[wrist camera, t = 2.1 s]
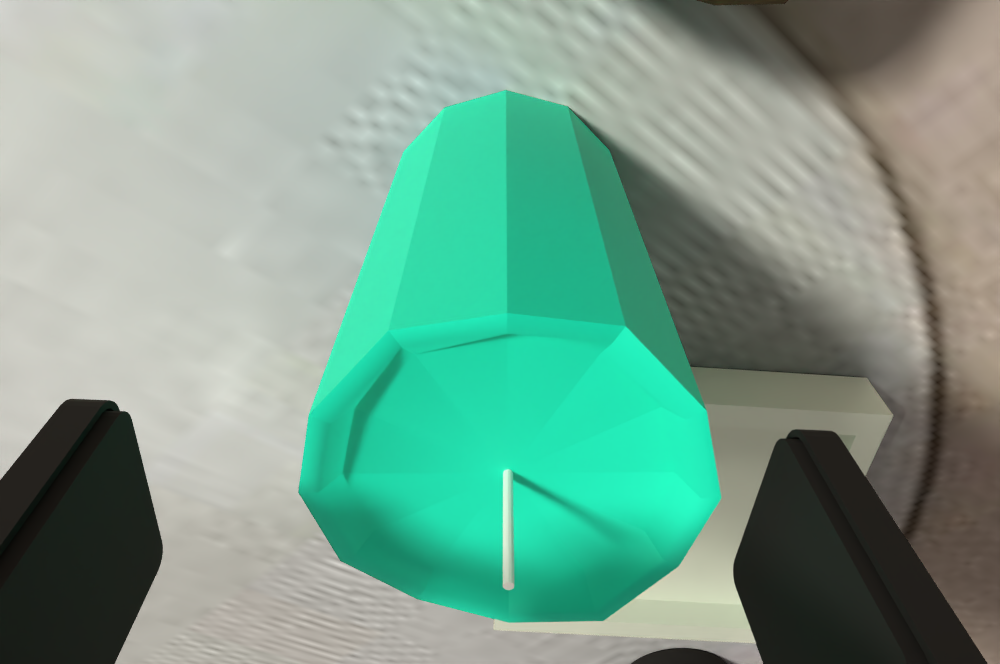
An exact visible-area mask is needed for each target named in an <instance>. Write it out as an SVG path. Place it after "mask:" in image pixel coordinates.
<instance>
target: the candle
mask: <svg viewBox="0 0 1000 664" xmlns="http://www.w3.org/2000/svg"><path fill="white" fill-rule="evenodd" d="M298 493H299V494H300V496H301V497H302V499H303V501H304V502H305V504H306V506H307V507H308V509H309V510H310V512H311V514H312V515H313V517H314V519H315V520H316V522H317V523H318V525H319V527H320V528H321V530H322V532H323V533H324V535H325V536H326V538H327V540H328V541H329V543H330V545H331V546H332V548H333V549H334V551H335V553H336V554H337V556H338V558H339V559H340V561H342V562H344V563H346V564H348V565H350V566H352V567H354V568H356V569H358V570H360V571H362V572H364V573H366V574H368V575H370V576H372V577H374V578H376V579H378V580H380V581H382V582H384V583H386V584H388V585H390V586H392V587H394V588H396V589H398V590H400V591H402V592H404V593H406V594H408V595H410V596H412V597H414V598H416V599H419V600H423V601H427V602H431V603H434V604H438V605H442V606H446V607H450V608H454V609H458V610H461V611H465V612H469V613H473V614H477V615H481V616H485V617H489V618H492V619H496V620H500V621H504V622H508V623H523V622H582V621H604V620H605V619H607V618H608V617H610V616H611V615H612V614H614V613H615V612H617V611H618V610H619V609H621V608H622V607H623V606H625V605H626V604H628V603H629V602H630V601H632V600H633V599H634V598H636V597H637V596H639V595H640V594H641V593H643V592H644V591H646V590H647V589H648V588H650V587H651V586H652V585H654V584H655V583H657V582H658V581H659V580H661V579H662V578H663V577H665V576H666V575H668V574H669V573H670V572H672V571H673V570H675V569H676V568H677V567H679V565H680V564H681V562H682V561H683V559H684V557H685V556H686V554H687V553H688V551H689V549H690V548H691V546H692V545H693V543H694V541H695V540H696V538H697V537H698V535H699V533H700V532H701V530H702V529H703V527H704V525H705V524H706V522H707V521H708V519H709V517H710V516H711V514H712V513H713V511H714V509H715V508H716V506H717V505H718V503H719V501H720V500H721V492H720V486H719V480H718V475H717V469H716V463H715V457H714V451H713V445H712V439H711V433H710V427H709V421H708V415H707V410H706V408H705V405H704V402H703V400H702V397H701V394H700V392H699V389H698V386H697V384H696V381H695V378H694V375H693V373H692V370H691V367H690V365H689V362H688V359H687V357H686V354H685V351H684V349H683V346H682V343H681V341H680V338H679V335H678V333H677V330H676V327H675V325H674V322H673V319H672V317H671V314H670V311H669V308H668V306H667V303H666V300H665V298H664V295H663V292H662V290H661V287H660V284H659V282H658V279H657V276H656V274H655V271H654V268H653V266H652V263H651V260H650V258H649V255H648V252H647V250H646V247H645V244H644V241H643V239H642V236H641V233H640V231H639V228H638V225H637V223H636V220H635V217H634V215H633V212H632V209H631V207H630V204H629V201H628V199H627V196H626V193H625V191H624V188H623V185H622V183H621V180H620V177H619V174H618V172H617V169H616V166H615V164H614V161H613V158H612V156H611V153H610V150H609V149H608V148H607V147H606V146H605V145H604V144H603V143H602V142H601V141H600V140H599V139H598V138H597V137H596V136H595V135H594V134H593V133H592V131H591V130H590V129H589V128H588V127H587V126H586V125H585V124H584V123H583V122H582V121H581V120H580V119H579V118H578V117H577V116H576V115H575V114H574V113H573V112H572V111H571V110H570V109H569V107H568V106H564V105H560V104H556V103H552V102H549V101H545V100H541V99H537V98H534V97H530V96H526V95H522V94H518V93H515V92H511V91H507V90H505V91H501V92H498V93H494V94H491V95H487V96H484V97H480V98H477V99H473V100H470V101H466V102H463V103H459V104H455V105H452V106H448V107H445V108H444V109H443V110H442V111H441V112H440V113H439V114H438V115H437V116H436V117H435V118H434V120H433V121H432V122H431V123H430V124H429V125H428V126H427V127H426V128H425V129H424V130H423V131H422V132H421V134H420V135H419V136H418V137H417V138H416V139H415V140H414V141H413V142H412V143H411V144H410V145H409V146H408V147H407V149H406V150H405V151H404V152H403V155H402V157H401V160H400V163H399V166H398V168H397V171H396V174H395V177H394V180H393V182H392V185H391V188H390V191H389V193H388V196H387V199H386V202H385V205H384V207H383V210H382V213H381V216H380V218H379V221H378V224H377V227H376V230H375V232H374V235H373V238H372V241H371V244H370V246H369V249H368V252H367V255H366V257H365V260H364V263H363V266H362V269H361V271H360V274H359V277H358V280H357V282H356V285H355V288H354V291H353V294H352V296H351V299H350V302H349V305H348V307H347V310H346V313H345V316H344V319H343V321H342V324H341V327H340V330H339V332H338V335H337V338H336V341H335V344H334V346H333V349H332V352H331V355H330V358H329V360H328V363H327V366H326V369H325V371H324V374H323V377H322V380H321V383H320V385H319V388H318V391H317V394H316V396H315V399H314V402H313V405H312V408H311V410H310V413H309V417H308V425H307V432H306V440H305V447H304V455H303V462H302V469H301V477H300V484H299V492H298Z"/></svg>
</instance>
